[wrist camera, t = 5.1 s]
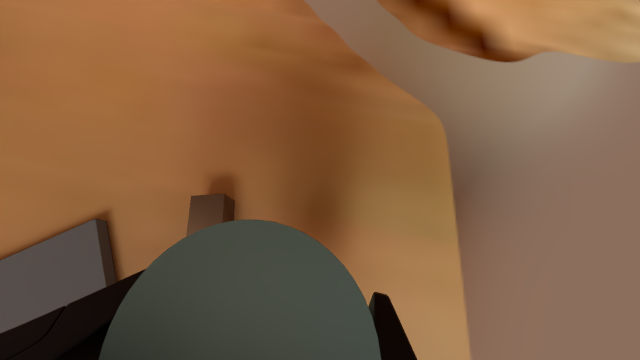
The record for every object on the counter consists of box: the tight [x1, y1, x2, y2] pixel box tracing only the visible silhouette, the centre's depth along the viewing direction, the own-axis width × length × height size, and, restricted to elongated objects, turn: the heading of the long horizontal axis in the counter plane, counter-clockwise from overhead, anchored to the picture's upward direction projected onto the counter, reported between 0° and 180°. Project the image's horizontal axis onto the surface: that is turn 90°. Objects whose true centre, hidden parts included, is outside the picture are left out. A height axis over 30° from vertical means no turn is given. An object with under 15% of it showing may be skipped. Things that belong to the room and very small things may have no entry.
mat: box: [0, 219, 117, 333], centre depth 18 cm, size 12×12×1 cm
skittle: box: [99, 220, 381, 360], centre depth 9 cm, size 5×5×10 cm
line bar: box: [187, 194, 235, 236], centre depth 17 cm, size 16×2×2 cm, turn 3°
